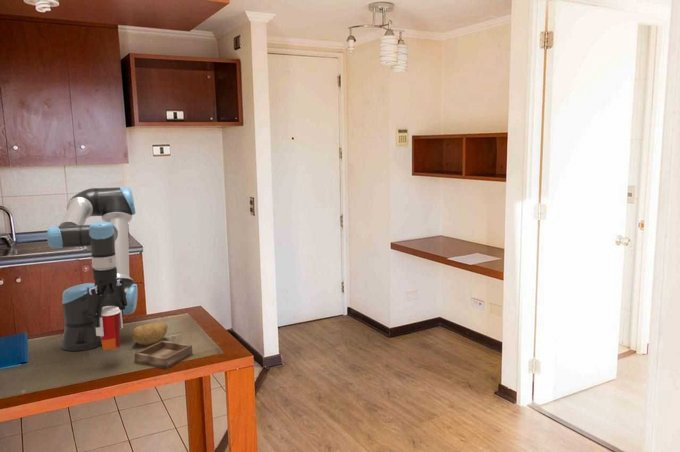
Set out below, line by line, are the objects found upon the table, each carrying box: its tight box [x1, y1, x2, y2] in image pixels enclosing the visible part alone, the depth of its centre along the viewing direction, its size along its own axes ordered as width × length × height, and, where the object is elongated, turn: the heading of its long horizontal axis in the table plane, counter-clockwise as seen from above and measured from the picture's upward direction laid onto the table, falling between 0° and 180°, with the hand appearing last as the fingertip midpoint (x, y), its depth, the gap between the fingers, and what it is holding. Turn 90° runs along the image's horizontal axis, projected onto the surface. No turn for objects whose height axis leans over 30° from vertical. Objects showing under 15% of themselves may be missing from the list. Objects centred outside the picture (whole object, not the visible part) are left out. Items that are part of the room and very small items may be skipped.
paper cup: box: [100, 306, 121, 351], centre depth 189 cm, size 8×8×14 cm
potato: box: [131, 321, 169, 346], centre depth 212 cm, size 10×14×8 cm
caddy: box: [134, 340, 193, 370], centre depth 196 cm, size 14×14×4 cm
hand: (109, 331), depth 189 cm, fingers closed on paper cup, 8 cm apart
